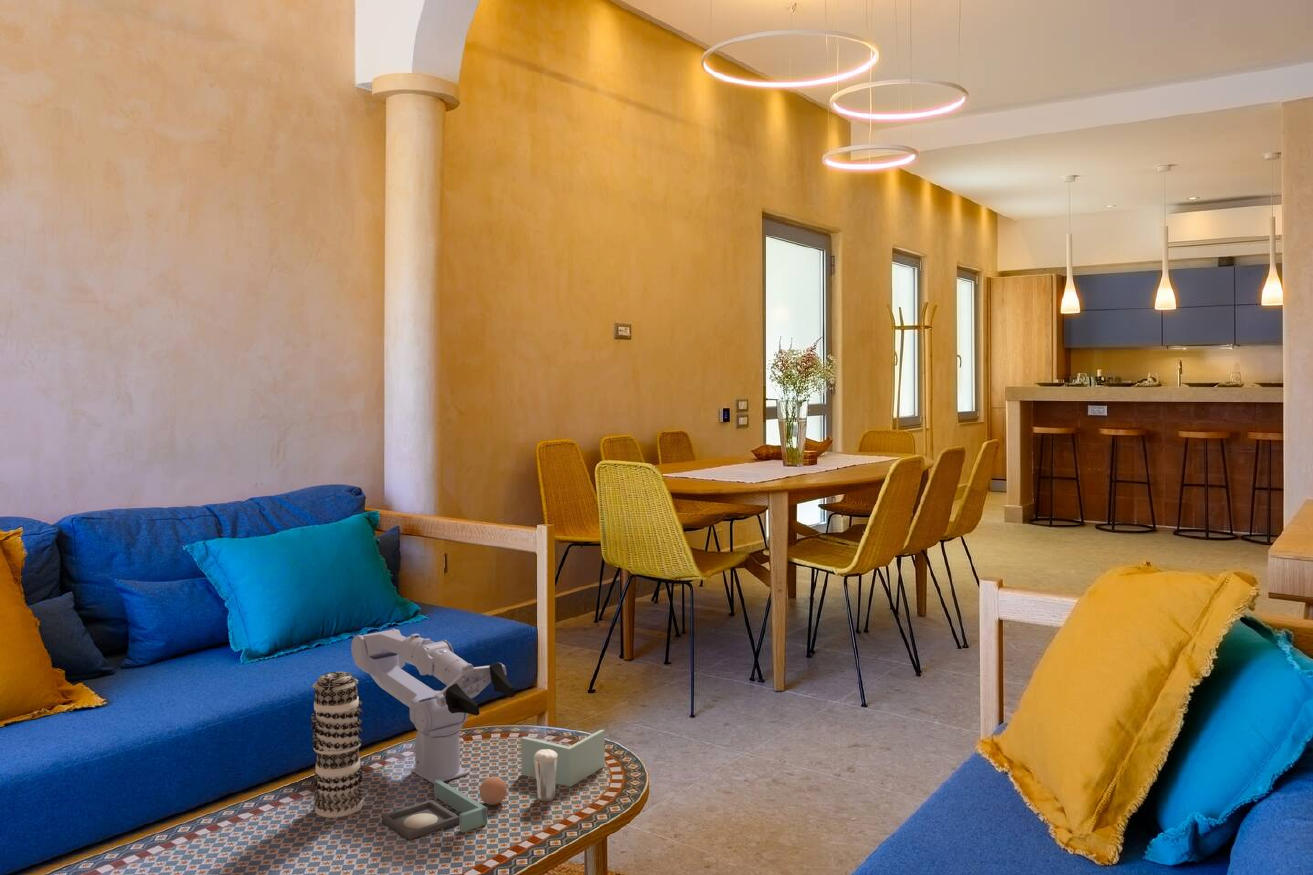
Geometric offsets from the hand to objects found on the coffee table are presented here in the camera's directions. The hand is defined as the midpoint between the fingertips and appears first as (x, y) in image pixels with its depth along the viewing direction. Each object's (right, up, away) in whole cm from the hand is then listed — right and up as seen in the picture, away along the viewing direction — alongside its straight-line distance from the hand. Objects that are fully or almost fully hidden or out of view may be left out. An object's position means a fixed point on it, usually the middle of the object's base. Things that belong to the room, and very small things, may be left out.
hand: (495, 701), depth 183 cm
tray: (-12, -20, -6) cm, 24 cm away
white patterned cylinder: (-29, -20, +1) cm, 35 cm away
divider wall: (-8, -20, -2) cm, 22 cm away
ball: (-1, -20, +2) cm, 20 cm away
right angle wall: (+11, -19, +18) cm, 28 cm away
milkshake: (+9, -20, +4) cm, 22 cm away
